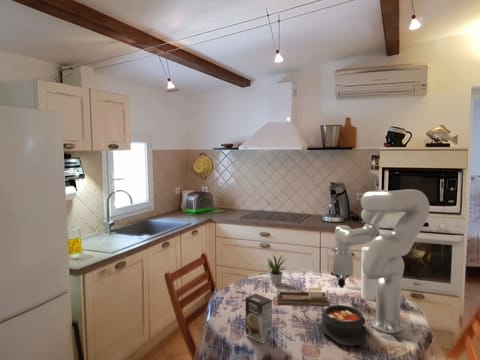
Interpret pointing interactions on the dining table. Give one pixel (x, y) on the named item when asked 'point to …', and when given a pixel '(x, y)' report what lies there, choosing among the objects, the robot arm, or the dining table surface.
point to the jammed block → (315, 292)
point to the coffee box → (259, 317)
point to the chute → (299, 298)
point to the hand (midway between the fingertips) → (341, 286)
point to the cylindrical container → (367, 282)
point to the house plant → (276, 270)
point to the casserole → (344, 325)
